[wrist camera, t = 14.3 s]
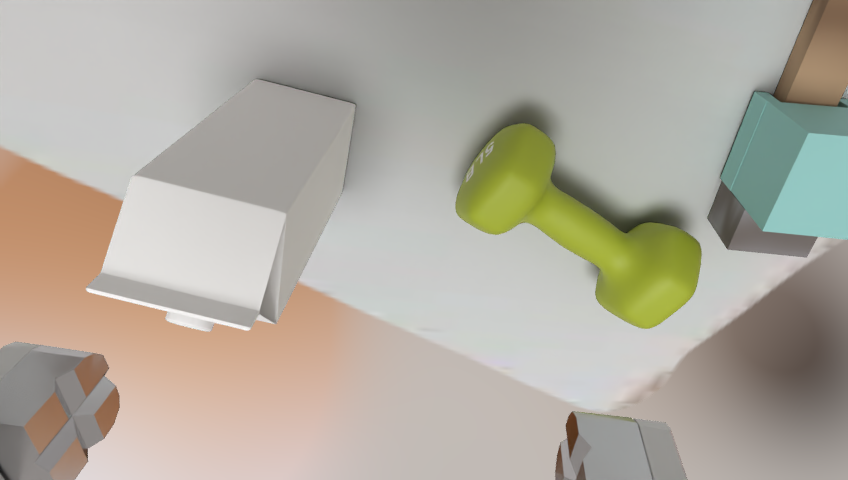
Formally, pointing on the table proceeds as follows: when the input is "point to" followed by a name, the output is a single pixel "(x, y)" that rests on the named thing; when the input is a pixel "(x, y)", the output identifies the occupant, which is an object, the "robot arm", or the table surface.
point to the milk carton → (231, 209)
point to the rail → (803, 84)
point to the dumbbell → (579, 228)
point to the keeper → (792, 167)
